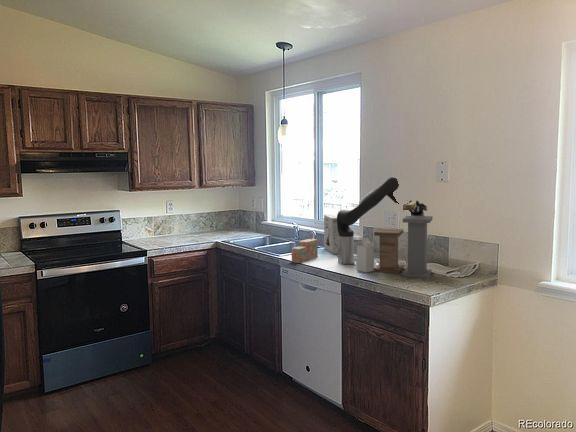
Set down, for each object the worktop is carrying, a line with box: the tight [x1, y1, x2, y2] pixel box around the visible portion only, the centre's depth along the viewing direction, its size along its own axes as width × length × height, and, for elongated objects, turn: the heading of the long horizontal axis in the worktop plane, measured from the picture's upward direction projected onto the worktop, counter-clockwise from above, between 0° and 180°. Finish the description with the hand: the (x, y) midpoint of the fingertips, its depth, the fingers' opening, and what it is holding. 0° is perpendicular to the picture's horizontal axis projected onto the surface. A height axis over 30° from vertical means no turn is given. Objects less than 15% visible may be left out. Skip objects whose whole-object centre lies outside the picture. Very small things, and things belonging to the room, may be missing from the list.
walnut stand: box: [373, 228, 404, 274], centre depth 269 cm, size 14×14×23 cm
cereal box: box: [323, 213, 339, 255], centre depth 327 cm, size 22×8×25 cm, turn 10°
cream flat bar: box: [402, 200, 417, 211], centre depth 267 cm, size 23×6×3 cm, turn 156°
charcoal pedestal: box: [401, 215, 433, 279], centre depth 256 cm, size 14×14×32 cm
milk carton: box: [356, 237, 375, 273], centre depth 268 cm, size 7×7×19 cm
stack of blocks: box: [291, 238, 319, 264], centre depth 302 cm, size 21×6×12 cm, turn 143°
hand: (413, 201), depth 273 cm, fingers closed on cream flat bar, 3 cm apart
